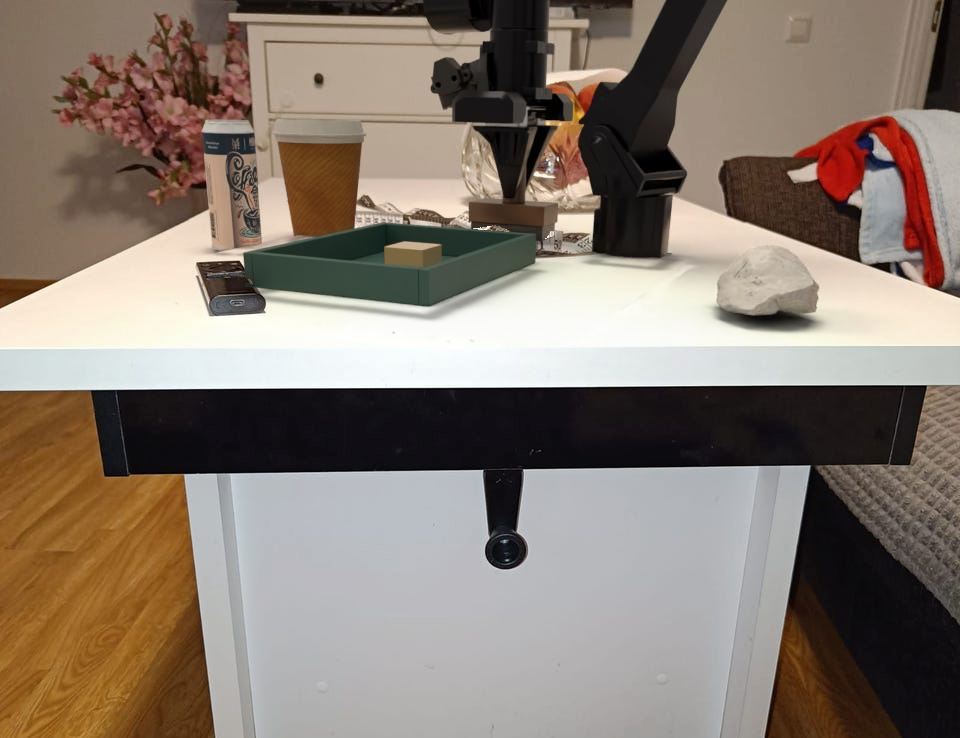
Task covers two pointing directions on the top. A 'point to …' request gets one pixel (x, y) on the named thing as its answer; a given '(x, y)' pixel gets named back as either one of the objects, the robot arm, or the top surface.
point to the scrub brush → (515, 213)
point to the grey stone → (767, 284)
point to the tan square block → (413, 254)
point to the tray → (364, 275)
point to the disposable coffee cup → (320, 172)
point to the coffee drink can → (231, 184)
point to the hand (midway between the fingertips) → (514, 196)
